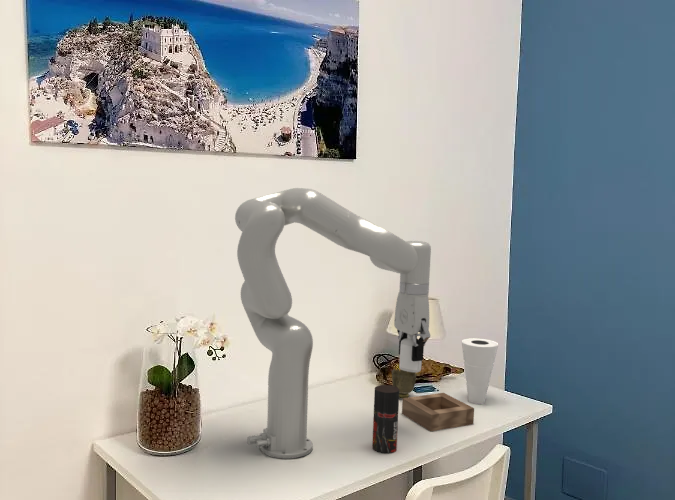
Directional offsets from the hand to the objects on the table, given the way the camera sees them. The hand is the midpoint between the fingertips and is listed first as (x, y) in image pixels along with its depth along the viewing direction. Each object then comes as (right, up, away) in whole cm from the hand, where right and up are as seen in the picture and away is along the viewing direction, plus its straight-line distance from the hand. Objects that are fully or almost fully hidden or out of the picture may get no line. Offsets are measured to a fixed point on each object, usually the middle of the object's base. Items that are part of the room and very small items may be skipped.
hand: (410, 356), depth 174 cm
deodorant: (-8, -21, -12) cm, 25 cm away
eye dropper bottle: (0, -4, 0) cm, 4 cm away
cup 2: (+22, -18, +26) cm, 39 cm away
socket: (+8, -19, +10) cm, 23 cm away
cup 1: (+1, -17, +27) cm, 32 cm away
